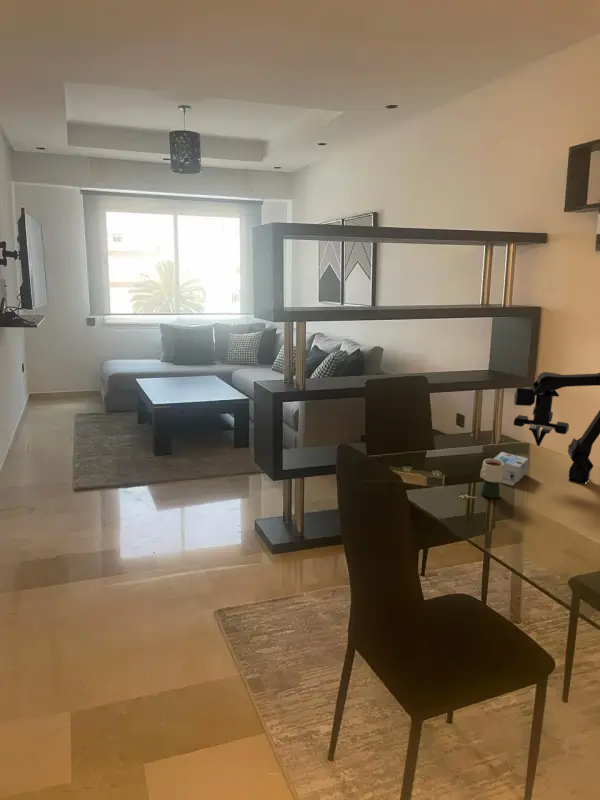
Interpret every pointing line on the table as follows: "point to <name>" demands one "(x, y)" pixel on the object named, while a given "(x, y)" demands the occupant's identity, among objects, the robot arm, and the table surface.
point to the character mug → (491, 477)
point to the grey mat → (507, 482)
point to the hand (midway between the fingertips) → (538, 445)
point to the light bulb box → (513, 466)
